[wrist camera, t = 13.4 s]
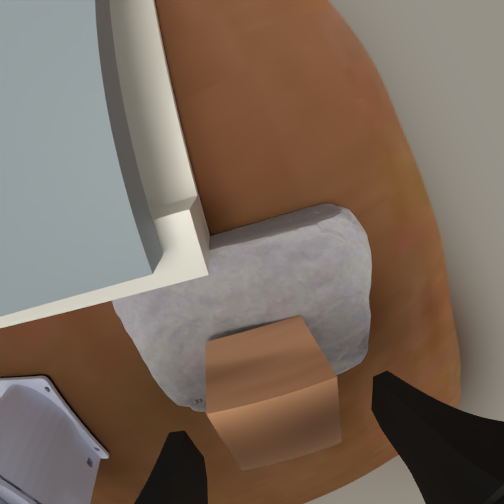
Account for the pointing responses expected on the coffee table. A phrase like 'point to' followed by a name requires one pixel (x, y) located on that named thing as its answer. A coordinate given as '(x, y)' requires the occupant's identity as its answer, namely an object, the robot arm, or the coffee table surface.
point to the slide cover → (66, 158)
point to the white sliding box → (149, 163)
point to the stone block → (259, 296)
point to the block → (271, 394)
